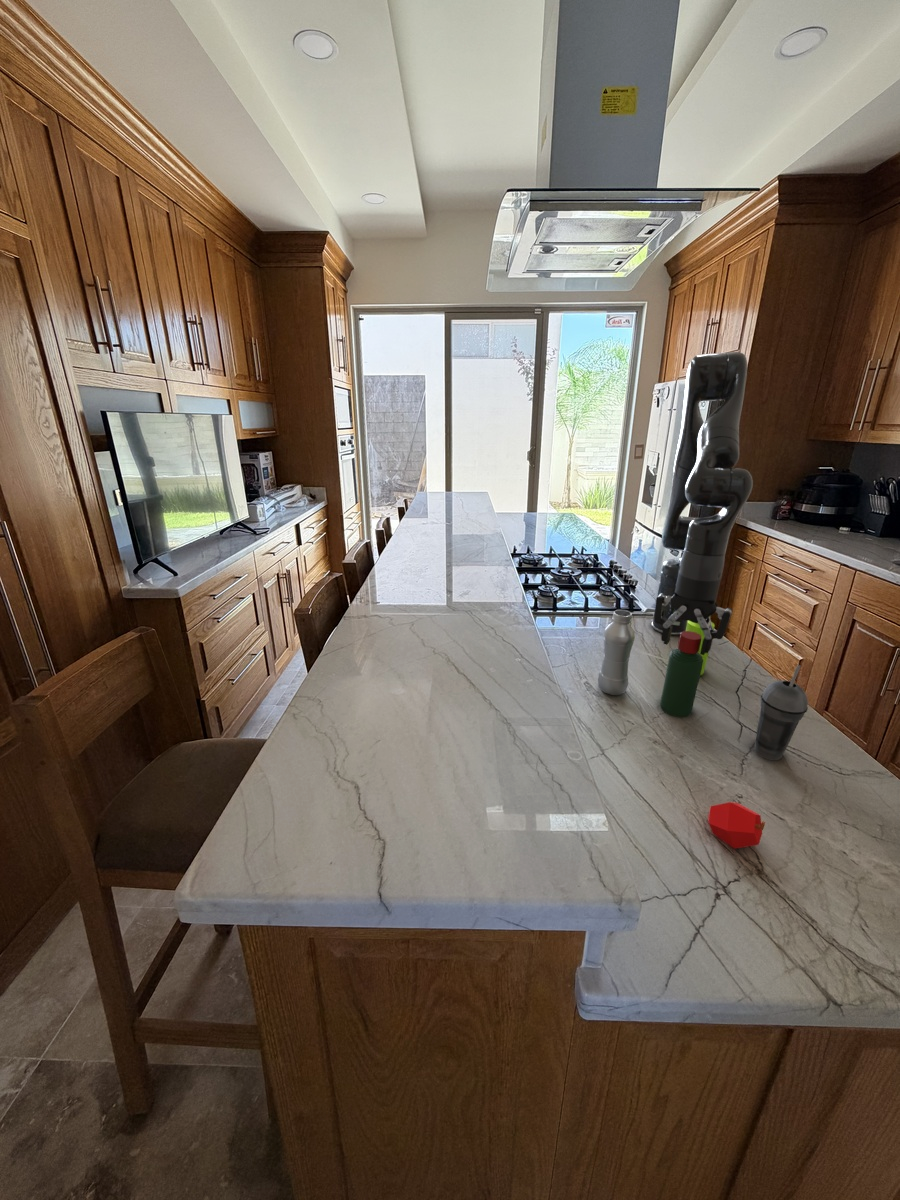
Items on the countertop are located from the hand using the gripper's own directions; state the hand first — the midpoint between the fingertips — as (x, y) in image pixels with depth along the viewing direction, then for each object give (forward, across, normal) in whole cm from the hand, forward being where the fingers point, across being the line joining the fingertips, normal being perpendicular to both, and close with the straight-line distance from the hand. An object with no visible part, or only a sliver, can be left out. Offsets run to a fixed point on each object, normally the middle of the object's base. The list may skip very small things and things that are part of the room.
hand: (684, 647), depth 100 cm
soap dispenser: (+15, +1, -19) cm, 25 cm away
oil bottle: (+15, -1, -1) cm, 15 cm away
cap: (0, -1, -1) cm, 1 cm away
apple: (+15, -17, +29) cm, 37 cm away
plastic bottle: (+15, +13, +1) cm, 20 cm away
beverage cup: (+15, -19, +3) cm, 24 cm away
